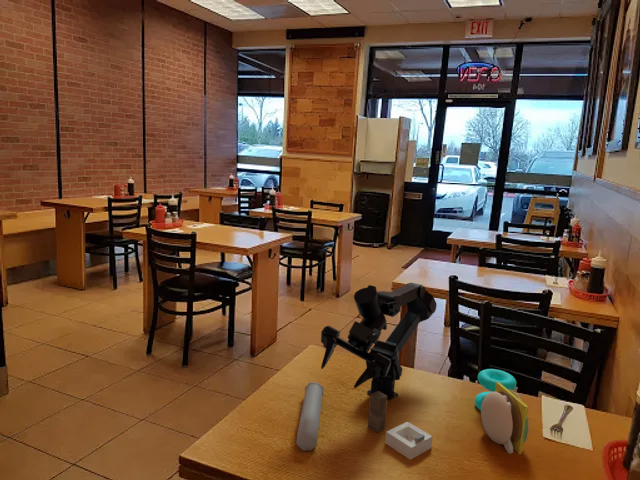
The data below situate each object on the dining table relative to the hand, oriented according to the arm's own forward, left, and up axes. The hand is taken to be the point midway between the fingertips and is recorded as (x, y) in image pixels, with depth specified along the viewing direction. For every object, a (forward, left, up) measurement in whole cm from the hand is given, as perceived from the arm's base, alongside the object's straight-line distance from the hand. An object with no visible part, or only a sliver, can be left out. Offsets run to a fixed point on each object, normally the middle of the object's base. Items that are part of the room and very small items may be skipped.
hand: (337, 377), depth 115 cm
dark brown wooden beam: (-9, +5, -14) cm, 18 cm away
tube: (+3, -6, -14) cm, 16 cm away
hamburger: (-31, +26, -14) cm, 43 cm away
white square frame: (-10, +15, -14) cm, 23 cm away
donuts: (-43, +17, -14) cm, 49 cm away
